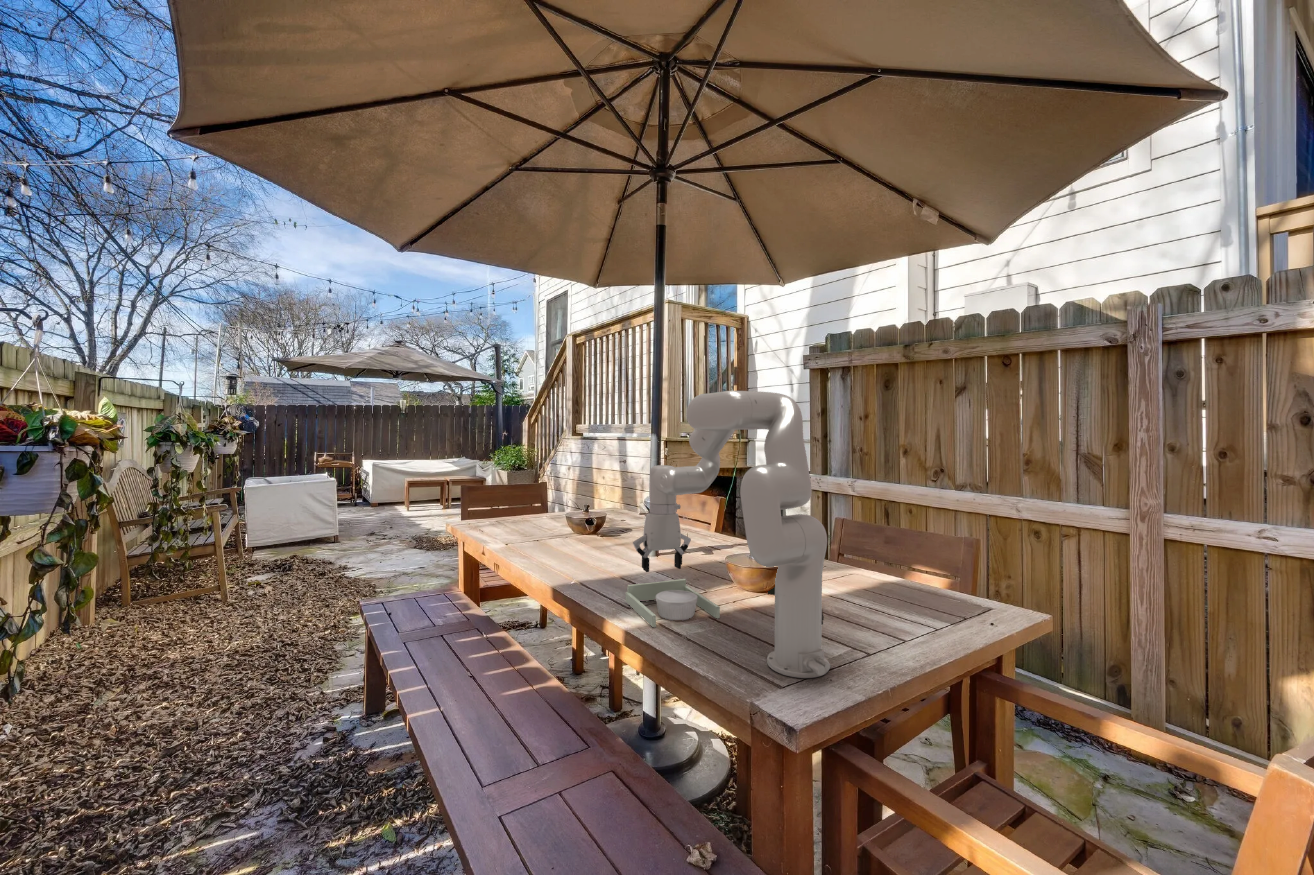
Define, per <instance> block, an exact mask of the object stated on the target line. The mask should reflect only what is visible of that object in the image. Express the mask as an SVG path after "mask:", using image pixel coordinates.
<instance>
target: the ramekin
mask: <svg viewBox="0 0 1314 875" xmlns="http://www.w3.org/2000/svg"><path fill="white" fill-rule="evenodd" d="M697 600H698V597H697V595H696V594H694V593H692V592H688V591H682V590H668V591H663V592H660V593H658V594H657V595H656V600H655V601H656V608H657V613H658V615H659V616H660V617H661V618H662V617H663V618H662V619H664V618H666V619H665V620H667V619H670V620H669V621H673V620H682V621H687V620H689V618H690V619H691V618H693V616H694V615H695V613H696V608H697V605H696V603H697Z"/></svg>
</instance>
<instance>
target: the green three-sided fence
mask: <svg viewBox="0 0 1314 875" xmlns="http://www.w3.org/2000/svg"><path fill="white" fill-rule="evenodd" d="M668 590H682V591H688V592H692V593H694V594H696V595H697V597H698V600H697V603H696V607H699V608H700V607H701V608H700V609H701V610H703V609H704V610H703V611H704V612H706V613H708V614H709V615H711V616H712V618H715V619H716V618H717V619H720V618H721V616H720V615H721V611H720V610H721V609H720V608H721V607H720V605H718V604H716V603H714V602H713V601H712V600H710V599H708V598H707V597H705V596H704V595H702V594H701V593H699V592H697V591H696V590H694V589H692V588H691V587H690V586H688V585H687V579H686V578H680V579H672V580H671V579H670V580H662V581H653V582H647V583H646V582H644V583H635V584H628V585H627V584H626V591H625V603H626V602H627V603H628V604H629V605H630V606H631V607H632V608H633V609H634V610H635V611H636V612H637V613H638V614H639V615H640V616H642V617H643V618H644V619H645V620H646V621H647V622H648V623H649V624H650V625H651V626H652V627H654V628H656V627H657V615H656V614H655V613H654V612H653V611H652V610H651V609H650V608H648V606H646V605H644V604H643V602H640V600H653V599H656V595H657V594H658V593H660V592H663V591H668ZM632 608H631V609H632ZM633 609H632V610H633ZM634 610H633V611H634ZM635 611H634V612H635ZM636 612H635V613H636ZM637 613H636V614H637ZM638 614H637V615H638ZM639 615H638V616H639ZM640 616H639V617H640ZM647 622H646V623H647ZM648 623H647V624H648ZM649 624H648V625H649ZM650 625H649V626H650ZM651 626H650V627H651ZM652 627H651V628H652Z"/></svg>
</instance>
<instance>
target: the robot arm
mask: <svg viewBox="0 0 1314 875" xmlns="http://www.w3.org/2000/svg"><path fill="white" fill-rule="evenodd" d="M686 420H687V422H688V425H689V426H690V427H691V428H693V431H692V432H691V434H690V435H689V439H688V442H689V446H690V448H691V449H692V450H693V452H694V453H695V454H696V455H698V456H699V457H700V460H699V462H698V463H697V464H696V465H690V466H689V465H688V466H677V467H676V466H672V465H666V464H665V465H664V464H663V465H661V464H658V465H654V466H653V465H652V467H651V468H650V470H649V513H646V516H645V520H644V527H643V534H642V536H640V537H638V538H637V539H635V540H634V541H632V545H633V547H634V548H635V551H636V552H637V553H638V554H639V555H640V556H641V568H642V569H643V571H645V572H646V573H649V572H650V557H649V556H650V554H651V553H652V552H654V551H655V552H656V551H665V550H666V551H667V550H669V551H670V550H674V551H675V553H674V559H673V560H674V564H673V565H674V567H675V568H676V569H677V570H681V569H682V565H683V555H684V554H685V552H686V550H688V548H689V545H690V543H691V542H692V538H691V537H689V536H686V535H684V534H683V533H681V523H680V522H681V521H680V517H679V513H677V510H681V504H678V502H677V496H682V495H693V494H701V493H703V492H705V491H706V490H707V489H709V487H710V486H711V484H713V482H714V481H715V480H716V478H717V476H718V474H719V473H720V468H721V457H720V453H721V451H722V449H723V448H724V446H725V445H726V444H727V442H728V440H730V438H731V437H732V436H733V435H734V433H735V432H736V431H737V430H743V431H744V430H746V431H747V430H749V431H750V430H751V431H752V430H768V431H767V434H766V435H765V439H764V447H763V449H764V455H765V464H758V465H755V466H754V465H753V466H752V467H751V468H749V469H747V471H746V472H745V474H744V475H743V478H742V479H741V483H740V490H739V491H740V503H741V510H742V511H741V512H742V517H743V522H744V531H745V538H746V543H747V547H748V550H749V553H750V555H751V557H752V558H753V560H754V561H755V562H756V563H757V564H759V565H761V566H762V567H763V566H766V567H774V566H778V569H777V573H776V578H775V595H774V650H773V651H770V652H769V653H768V654H767V657H766V663H767V666H768V667H769V668H771V669H772V670H773V671H775V672H776V673H779V674H780V675H784V676H786V677H791V678H796V679H797V678H798V679H800V678H801V679H812V678H818V677H819V678H820V677H822V676H824V675H826V674H827V673H828V672H829V670H830V669H831V666H832V665H831V663H830V662H829V660H828V659H827V657H825V651H824V650H823V649H822V638H823V636H822V634H823V633H822V630H823V629H822V625H823V624H822V612H823V608H822V607H823V606H822V604H823V603H822V602H823V600H822V598H823V597H822V596H823V595H822V593H823V572H824V571H823V569H824V563H825V557H826V553H827V546H828V534H827V531H826V528H825V526H824V524H822V522H821V521H820V520H819V519H818V518H816V517H814V516H812V515H809V514H804V513H803V514H802V513H800V514H799V513H795V514H789V515H783V516H781V510H783V511H784V510H790V509H795V508H799V507H803V506H805V505H806V504H807V503H809V501H810V500H811V498H812V489H813V488H812V482H811V476H810V475H811V474H810V470H809V469H810V468H809V463H808V457H807V451H806V447H805V440H804V425H803V424H804V423H803V422H804V421H803V415H802V411H801V408H800V406H799V404H798V403H797V401H795V399H794V398H792V397H791V396H789V395H786V394H783V393H778V392H772V391H770V392H769V391H758V390H757V391H753V390H752V391H750V390H725V391H724V390H723V391H718V392H711V393H710V392H709V393H700V394H698V395H696V396H695V397H694V398H692V400H690V402H689V404H688V405H687V409H686ZM682 540H683V543H682V542H681V541H682ZM641 544H642V546H643V547H644V548H643V549H642V548H641Z"/></svg>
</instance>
